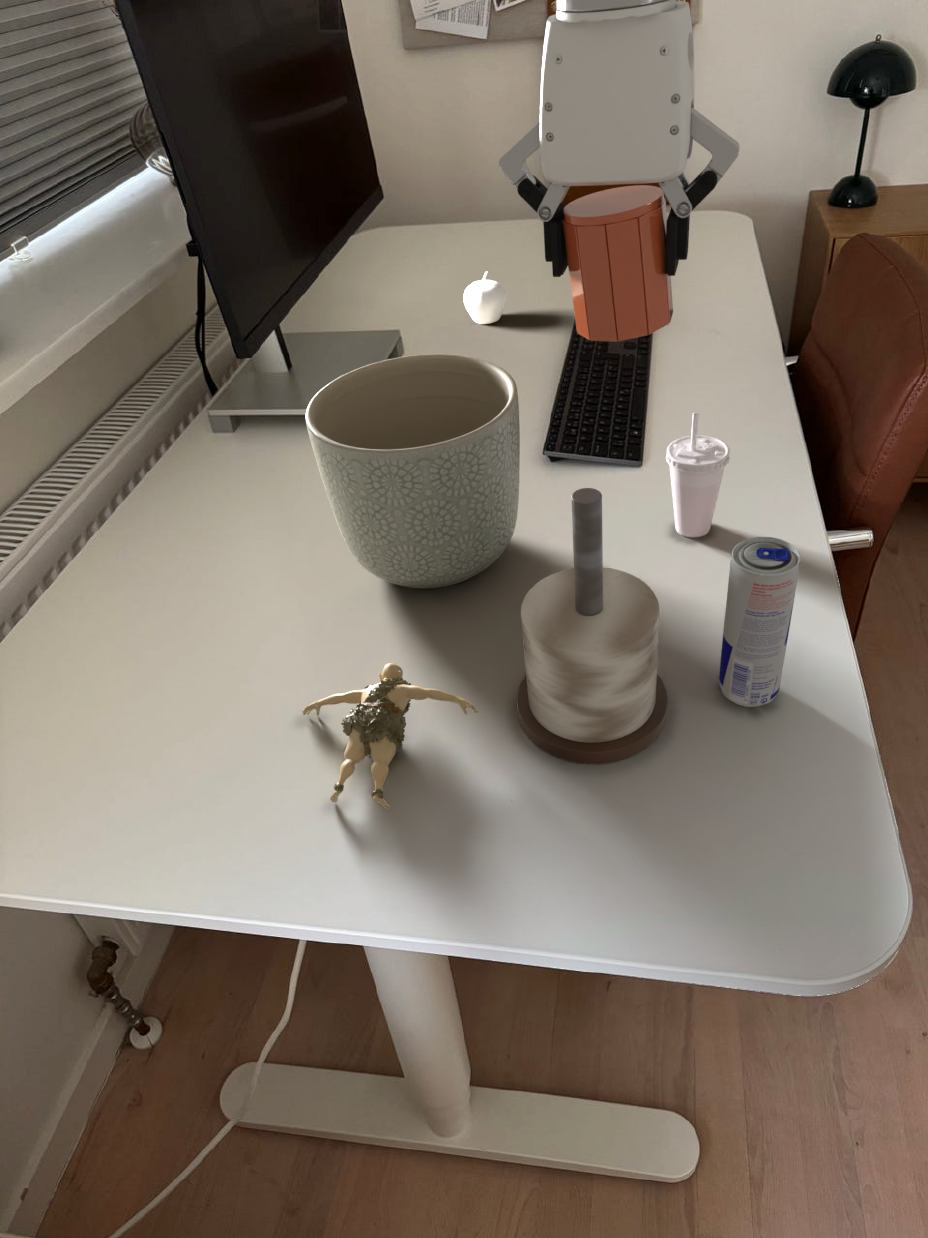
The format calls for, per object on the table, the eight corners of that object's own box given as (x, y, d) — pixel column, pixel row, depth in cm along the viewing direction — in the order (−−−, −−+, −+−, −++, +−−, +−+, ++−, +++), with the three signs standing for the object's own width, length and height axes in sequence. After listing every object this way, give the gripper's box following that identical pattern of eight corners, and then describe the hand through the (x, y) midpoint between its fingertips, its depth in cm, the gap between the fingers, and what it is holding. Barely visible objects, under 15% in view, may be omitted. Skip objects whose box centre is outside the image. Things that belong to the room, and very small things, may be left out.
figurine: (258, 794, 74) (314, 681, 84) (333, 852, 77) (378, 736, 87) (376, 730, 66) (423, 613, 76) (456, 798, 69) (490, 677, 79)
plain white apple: (505, 327, 146) (501, 278, 141) (463, 329, 148) (457, 280, 143) (510, 310, 152) (506, 263, 147) (469, 312, 153) (464, 265, 148)
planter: (561, 526, 101) (554, 367, 89) (468, 637, 88) (445, 469, 76) (409, 490, 110) (384, 342, 98) (304, 586, 97) (260, 429, 85)
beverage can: (778, 675, 79) (801, 536, 70) (777, 716, 76) (801, 575, 66) (719, 668, 81) (733, 531, 71) (715, 708, 77) (729, 569, 67)
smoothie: (652, 520, 100) (656, 405, 91) (704, 506, 101) (713, 391, 92) (680, 550, 95) (687, 432, 86) (734, 535, 96) (746, 417, 87)
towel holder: (674, 666, 81) (687, 454, 67) (657, 775, 72) (667, 555, 58) (536, 651, 85) (520, 446, 71) (502, 752, 76) (476, 540, 62)
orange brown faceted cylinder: (571, 317, 73) (555, 201, 67) (663, 297, 72) (654, 178, 67) (583, 349, 67) (567, 224, 62) (683, 327, 66) (675, 199, 61)
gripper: (763, -37, 56) (738, 251, 67) (496, -10, 61) (514, 254, 72) (759, -23, 51) (733, 287, 62) (466, 6, 55) (491, 289, 67)
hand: (615, 268), depth 67 cm, fingers closed on orange brown faceted cylinder, 7 cm apart
